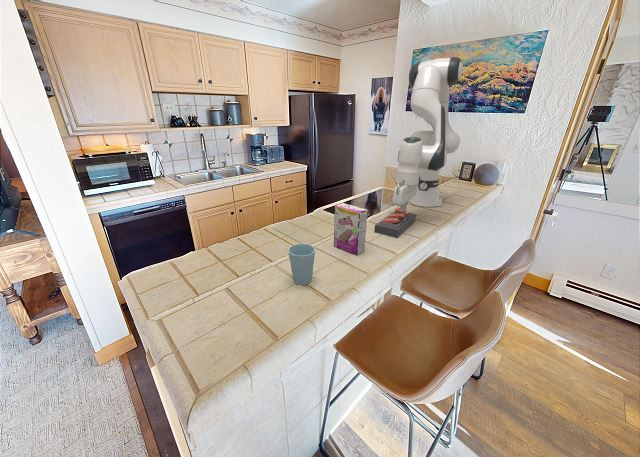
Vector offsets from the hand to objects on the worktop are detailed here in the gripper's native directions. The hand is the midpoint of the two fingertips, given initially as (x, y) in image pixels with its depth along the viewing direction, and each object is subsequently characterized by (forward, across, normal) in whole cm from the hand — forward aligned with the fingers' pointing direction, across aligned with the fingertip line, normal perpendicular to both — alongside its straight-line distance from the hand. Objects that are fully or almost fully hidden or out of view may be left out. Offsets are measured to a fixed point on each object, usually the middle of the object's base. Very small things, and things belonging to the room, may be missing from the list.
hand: (403, 210), depth 115 cm
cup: (+8, -58, +9) cm, 59 cm away
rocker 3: (+3, +7, +2) cm, 8 cm away
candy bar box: (+8, -32, +8) cm, 34 cm away
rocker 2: (+3, 0, +2) cm, 4 cm away
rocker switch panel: (+8, +2, +2) cm, 9 cm away
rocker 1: (+3, -7, +2) cm, 8 cm away
